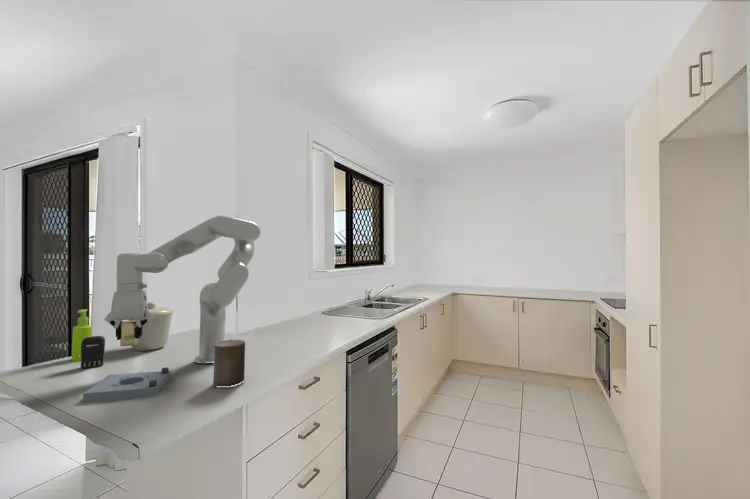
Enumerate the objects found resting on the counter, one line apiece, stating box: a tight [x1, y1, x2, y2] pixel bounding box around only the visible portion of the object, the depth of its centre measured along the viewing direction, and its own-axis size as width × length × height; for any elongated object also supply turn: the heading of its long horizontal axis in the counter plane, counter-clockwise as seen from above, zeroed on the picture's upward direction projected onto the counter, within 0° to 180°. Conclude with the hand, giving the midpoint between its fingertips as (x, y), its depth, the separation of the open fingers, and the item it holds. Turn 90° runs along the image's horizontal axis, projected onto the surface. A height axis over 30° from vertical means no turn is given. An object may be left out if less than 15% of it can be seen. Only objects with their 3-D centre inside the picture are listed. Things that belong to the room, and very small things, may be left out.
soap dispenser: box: [70, 308, 93, 362], centre depth 134 cm, size 6×7×20 cm
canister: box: [128, 301, 175, 352], centre depth 152 cm, size 18×18×21 cm
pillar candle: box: [212, 338, 246, 386], centre depth 112 cm, size 10×10×15 cm
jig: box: [82, 366, 172, 403], centre depth 106 cm, size 18×16×4 cm
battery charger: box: [80, 335, 106, 369], centre depth 125 cm, size 7×4×11 cm, turn 126°
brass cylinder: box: [119, 320, 138, 347], centre depth 119 cm, size 5×5×8 cm
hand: (129, 337), depth 119 cm, fingers closed on brass cylinder, 5 cm apart
